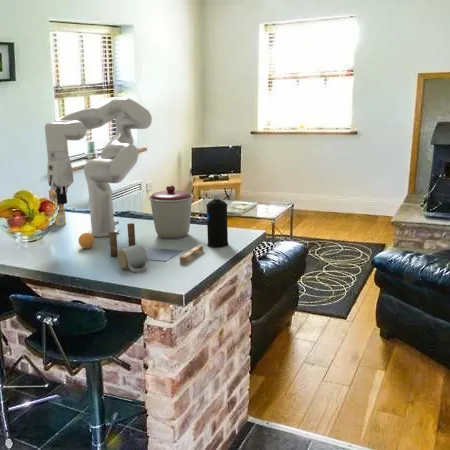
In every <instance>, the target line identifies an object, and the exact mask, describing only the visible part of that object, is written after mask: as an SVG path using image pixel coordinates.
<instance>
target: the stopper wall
mask: <svg viewBox="0 0 450 450" xmlns="http://www.w3.org/2000/svg"><path fill="white" fill-rule="evenodd" d="M203 252H204V245H203V244H197V245H195V246H194V247H193V248H191V249H190V250H188V251H187V252H185V253H184V254H182V255H180V256H179V265H187V264H188V263H189V262H191V261H192V260H194V259H195V258H196V257H198V256H199V255H200V254H202V253H203Z"/></svg>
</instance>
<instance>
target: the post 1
mask: <svg viewBox="0 0 450 450" xmlns="http://www.w3.org/2000/svg"><path fill="white" fill-rule="evenodd" d="M117 235H118V234H116V232H109V236H108V239H109V251H110V258H117V255H118V252H119V250H118V239H117V237H118V236H117Z"/></svg>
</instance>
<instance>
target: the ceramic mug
mask: <svg viewBox="0 0 450 450" xmlns="http://www.w3.org/2000/svg"><path fill="white" fill-rule="evenodd" d="M116 258H117V262H118V265H119V267H120V268H122V270H130V271H132V272H134V273H137V274H138V273H144V272H145V271H146V269H147V266H148V265H147V264H148V260H147V254H146V251H145V246H144V245H143V244H141V243H138V244H137V243H136V245H134V246H130V247H129V246H127V247H123V248H121V249H119V250H118V255H117V257H116ZM139 267H140V268H139ZM141 267H143V268H141Z"/></svg>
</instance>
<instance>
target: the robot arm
mask: <svg viewBox="0 0 450 450" xmlns="http://www.w3.org/2000/svg"><path fill="white" fill-rule="evenodd" d="M114 120H115V121H114ZM112 121H114V122H115V134H114V136H113V137H112V138H111V139H110V140H109V142H108V143H107V144H106V145H105V146H104V148H103V149H102V150H101V153H100V158H91V159H89V160H88V161H87V162H86V163H85V165H84V169H83V172H84V176H85V180H86V185H87V190H88V202H89V203H88V204H89V214H90V226H91V229H90V230H88V231H87V233H90V234H92V235H93V237H94V238H105V237H109V232H116V235H118V234H119V229H118V228H117V227H116V226H117V225H119V223H120V221H119V220H117V219H115V217H114V214H115V213H114V202H113V201H114V200H113V190H112V188H111V185H110V184H118V183H120V182H122V181H123V180H124V179H125V178H126V177H127V176H128V174H129V173H130V172H131V170H133V168H134V167H135V165H136V164H137V161H138V158H139V151H138V149H137V147H136V146H135V144H134V137H133V135H132V130H146V129H148V128H149V127H151V124H152V122H153V117H152V113H150V111H149V110H148V109H147V108H145V106H143V105H141V104H140V103H138V102H137V101H136V100H134V99H132V98H129V97H109V98H106V99H104V100H103V101H100V102H99V103H96V104H94V105H93V106H91V107H89V108H85V109H82V110H79V111H75V112H72V113H68V114H67V115H64V116H61V117H60V118H58V119H56V120H55V121H54V122H51V121H50V122H47V123H45V125H44V132H45V144H46V145H45V146H46V154H47V171H46V172H47V174H46V175H47V182H48V185H49V187H50V190H54V191H55V193H56V194H57V203H58V204H64V205H65V204H68V197H67V193H68V188H69V187H71V185H72V184H73V183H74V173H73V172H74V171H73V166H72V162H71V159H70V158H69V150H68V149H69V148H68V141H80V140H82V139H84V137H86V135H87V130H94V129H99V128H101V127H103V126H105V125H106V124H108V123H110V122H112Z"/></svg>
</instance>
